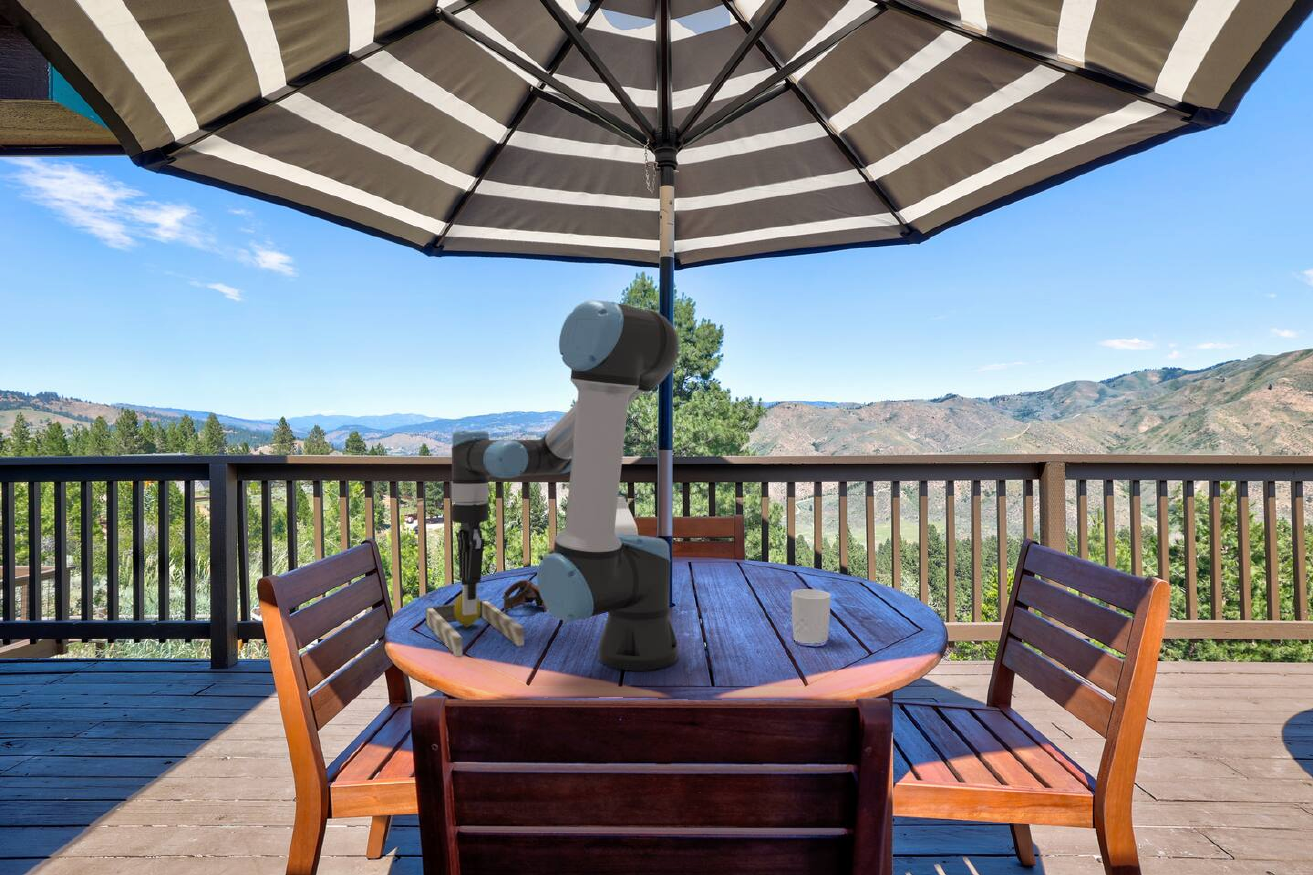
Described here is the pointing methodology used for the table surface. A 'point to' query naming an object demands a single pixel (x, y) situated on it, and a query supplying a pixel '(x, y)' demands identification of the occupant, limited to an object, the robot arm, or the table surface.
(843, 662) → the table surface
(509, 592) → the brown open ring
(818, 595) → the white cup
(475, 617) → the lemon
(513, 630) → the channel
